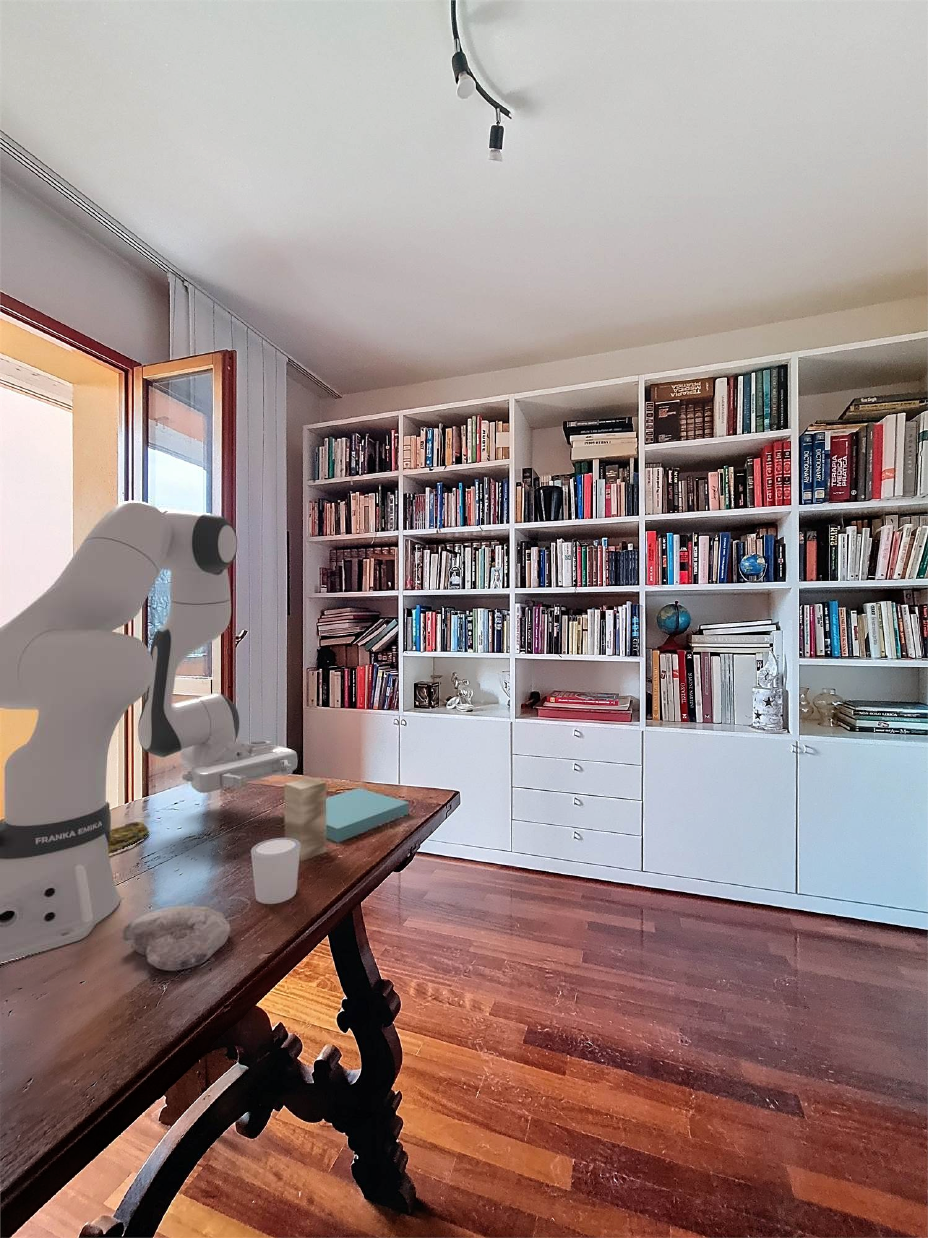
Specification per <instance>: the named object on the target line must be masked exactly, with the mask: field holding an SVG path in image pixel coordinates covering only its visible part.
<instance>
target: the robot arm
mask: <svg viewBox="0 0 928 1238" xmlns="http://www.w3.org/2000/svg"><path fill="white" fill-rule="evenodd" d="M237 551H238V537H237V533H236V530H235V528H234V526H233V525H232V524H231V523H230V521H229V520H228V519H227V518H225V517H223V516H221V515H217V514H212V513H209V512H205V513H199V512H194V511H189V510H179V509H174V508H157V507H155V506H153V505H152V504H150V503H147V502H144V501H139V500H127V501H122V502H120V503H118V504H117V505H114V507H112V508H111V509H109V511H108V512H107V513H106V514H105V515H104V516H103V517H102V518H100V520H99V521H98V522H97V523H96V524H95V525H94V527H93V528H92V529H91V530H90V531H89V532H88V535H87V536H86V537H85V538H84V540H83V541H82V543H81V544H80V545H79V547H78V549H77V550H76V552H75V553H74V555H73V557H72V558H71V559H70V561H69V562H68V564H67V565H66V566H65V568H64V569H63V571H62V572H61V574H60V575H59V577H58V578H57V579H56V580H55V581H54V582H53V583H52V585H50V587H49V588H48V589H47V590H46V591H45V592H44V593H43V594H41V595H40V596H39V597H38V598H37V599H35V600H34V601H33V602H32V603H31V604H30V605H28V606H27V607H26V608H25V609H23V611H21V612H20V613H19V614H17V615H16V616H14V617H13V618H12V619H11V620H10V621H8V622H7V623H5V624H4V625H2V626H1V627H0V708H1V709H4V710H5V709H6V710H28V711H29V710H34V711H35V710H37V711H38V714H37V720H36V723H35V727H34V729H33V732H32V733H31V735H30V738H29V739H28V741H27V742H26V743H25V744H23V745H22V746H20V747H18V748H17V749H16V750H14V751H13V752H12V753H11V754H10V755H9V757H8V758H7V760H6V761H5V765H4V768H3V769H4V798H3V799H4V802H3V804H4V807H3V808H4V815H3V816H4V818H3V819H1V820H0V963H1V962H5V961H9V960H11V959H16V958H20V957H23V956H27V955H30V956H32V955H31V954H33V955H36V954H39V952H40V953H42V951H43V952H45V951H48V950H49V951H50V950H53V949H56V948H59V947H62V946H65V945H68V944H72V943H74V942H78V941H80V940H82V939H84V938H86V937H87V936H88V935H89V934H90V933H91V932H92V930H93V929H94V927H95V926H96V925H97V924H98V923H99V922H101V921H102V920H104V919H105V918H106V917H108V916H109V915H110V914H112V912H113V911H114V910H115V909H116V908H117V907H118V905H119V903H120V902H121V896H120V894H119V893H120V892H119V891H118V888H117V885H116V883H115V879H114V878H115V877H114V875H113V869H112V865H111V859H110V857H109V850H108V842H109V841H110V833H111V830H112V816H111V815H112V814H111V810H110V803H109V802H108V801H107V772H108V771H107V769H108V755H109V748H110V745H111V740H112V737H113V736H114V731H115V730H116V727H117V725H118V724H119V721H120V720H121V718H122V717H123V715H124V714H125V713H126V711H127V710H128V709H129V708H131V706H132V705H134V704H135V703H136V702H138V700H140V698H142V697H143V695H144V697H143V705H142V709H141V713H140V716H139V720H138V724H137V725H138V726H137V736H138V741H139V743H140V746H141V748H142V749H143V750H144V751H146V753H148V754H150V755H154V756H156V757H160V758H166V757H169V756H171V755H174V754H176V753H179V752H180V759H181V761H182V764H183V765H184V766H185V768H187V769H188V770H189V771H187V773H184V774H183V775H182V776H181V777H182V780H183V781H185V782H190V786H191V788H193V789H194V790H195V791H196V792H198V793H203V794H204V793H211V792H215V791H219V790H222V789H227V788H238V789H240V788H243V787H246V786H248V783H250V782H253V781H257V780H261V779H264V778H267V777H272V776H276V775H279V774H281V775H284V776H288V775H291V774H293V771H294V770H296V769H297V767H298V754H297V752H296V751H295V750H293V749H290V748H288V747H286V746H281V745H275V744H274V745H273V742H272V741H269V740H263V741H261V740H260V741H250V742H249V741H237V739H238V736H239V732H240V716H239V711H238V708H237V707H236V705H235V704H234V703H233V701H231V699H229V698H228V697H227V696H225V695H224V694H222V693H219V692H214V693H211V694H210V693H209V694H205V695H202V696H197V697H194V698H191V699H187V700H182V701H179V702H174V703H173V698H174V689H175V682H176V672H177V669H178V667H179V666H180V664H181V663H182V662H183V661H184V660H185V659H187V657H188V656H190V655H191V654H193V652H196V651H197V650H199V649H201V648H202V647H204V646H206V645H208V644H210V643H211V642H213V641H215V640H216V639H218V638H219V637H221V635H222V634H223V633H224V632H225V631H226V629H227V628H228V626H229V624H230V623H231V622H230V621H231V616H232V597H231V585H230V578H229V572H228V568H229V567H230V566H231V564H233V561H234V560H235V558H236V555H237ZM162 569H163V570H170V578H169V579H170V581H169V596H170V598H169V599H170V601H169V603H170V605H169V611H168V615H167V616H166V620H165V622H164V623H163V625H162V627H160V628H159V629H157V630H156V631H155V633H154V634H153V637H152V641H151V646H150V650H149V648H148V646H147V645H146V644H145V643H144V641H142V640H141V639H140V638H137V637H136V636H133V635H129V634H125V633H122V632H116V631H115V630H116V629H119V628H120V627H123V626H124V625H126V624H128V623H130V622H132V621H133V619H135V618H136V617H137V616H138V615H139V613H140V611H141V610H142V607H143V605H144V604H145V602H146V599H147V598H148V596H149V593H151V590H152V588H153V586H154V585H155V583H156V580H157V579H158V577H159V575H160V573H161V571H162ZM52 948H53V949H52ZM35 953H36V954H35ZM27 957H28V956H27ZM20 959H21V958H20Z"/></svg>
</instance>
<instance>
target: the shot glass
mask: <svg viewBox="0 0 928 1238" xmlns="http://www.w3.org/2000/svg"><path fill="white" fill-rule="evenodd" d="M250 855H251V864H252V873H253V874H252V875H253V883H254V892H255V895H254V896H255V899H256V901H257V902H259V903H261V904H264V905H265V904H266V905H272V904H273V905H275V904H279V903H283V902H286V901H288V900H290V899H292V898H293V897H294V896H295V895H296V893H297V889H298V877H299V866H300V861H299V855H300V842H299V841H298V840H296V839H293V838H285V837H276V838H271V839H265V840H263V841H261V842H258V843H256V844H255V845H254V846H252V848H251V849H250Z"/></svg>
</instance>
